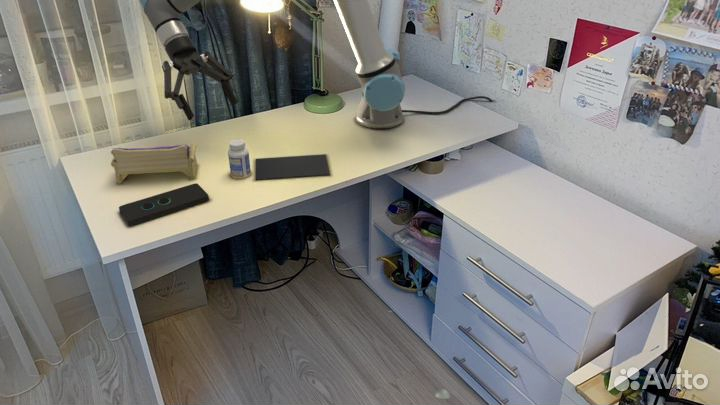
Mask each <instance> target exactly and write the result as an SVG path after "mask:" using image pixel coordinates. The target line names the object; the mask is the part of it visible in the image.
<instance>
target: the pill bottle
mask: <svg viewBox="0 0 720 405" xmlns="http://www.w3.org/2000/svg"><path fill="white" fill-rule="evenodd" d="M228 144H229V149H228V151H227V157H228V164H229V171H230V176H231V177H232V178H234V179H237V180H238V179H240V180H241V179H245V178H248V177H250V176H251V174H252V171H251V170H252V169H251V161H250V152H249V149H248V148H247V147H246V141H245V140H244V139H242V138H241V139H240V138H236V139H235V138H234V139H232V140H230V141H229V143H228Z"/></svg>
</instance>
